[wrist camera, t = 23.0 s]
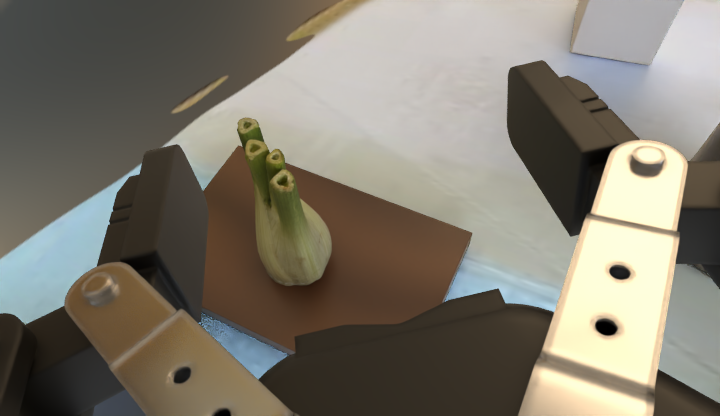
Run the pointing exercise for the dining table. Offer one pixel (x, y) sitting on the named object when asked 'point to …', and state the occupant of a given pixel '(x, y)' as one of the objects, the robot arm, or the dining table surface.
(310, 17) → the dining table surface
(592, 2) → the milk carton
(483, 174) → the dining table surface
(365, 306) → the board
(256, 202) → the fennel bulb
